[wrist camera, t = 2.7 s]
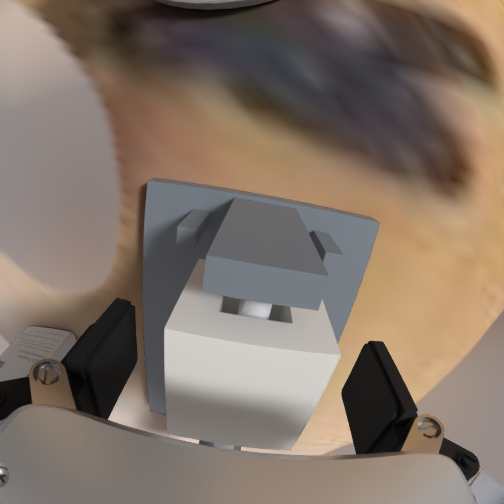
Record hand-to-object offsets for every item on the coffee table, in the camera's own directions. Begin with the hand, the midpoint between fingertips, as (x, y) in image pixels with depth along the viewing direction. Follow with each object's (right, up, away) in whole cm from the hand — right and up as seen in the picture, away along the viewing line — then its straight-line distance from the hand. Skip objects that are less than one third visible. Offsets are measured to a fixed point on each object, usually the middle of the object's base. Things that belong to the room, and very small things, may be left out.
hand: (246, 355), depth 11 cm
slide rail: (-1, -1, +7) cm, 7 cm away
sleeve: (0, +1, +1) cm, 1 cm away
